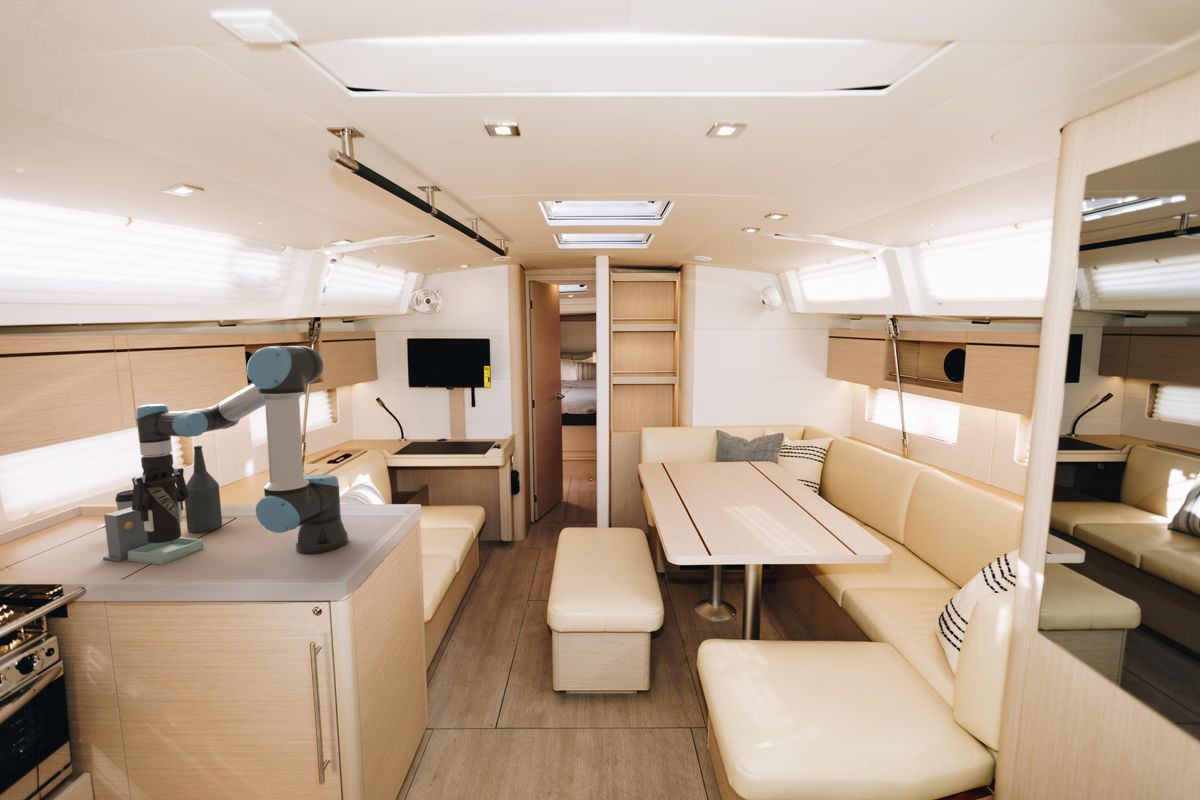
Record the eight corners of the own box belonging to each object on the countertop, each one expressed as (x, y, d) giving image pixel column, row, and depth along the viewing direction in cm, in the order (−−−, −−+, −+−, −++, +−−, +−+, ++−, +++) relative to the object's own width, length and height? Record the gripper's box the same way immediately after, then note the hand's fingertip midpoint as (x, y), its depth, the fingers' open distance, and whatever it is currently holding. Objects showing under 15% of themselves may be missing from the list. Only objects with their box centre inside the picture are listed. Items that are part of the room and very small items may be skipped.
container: (162, 545, 163) (156, 480, 161) (139, 543, 165) (132, 479, 163) (189, 535, 172) (184, 473, 169) (166, 533, 173) (160, 472, 171)
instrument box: (167, 544, 177) (163, 503, 175) (119, 561, 163) (114, 517, 162) (151, 542, 178) (147, 501, 177) (103, 559, 165) (98, 515, 163)
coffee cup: (154, 532, 188) (150, 490, 187) (124, 540, 181) (119, 496, 180) (145, 528, 193) (141, 487, 191) (115, 535, 186) (110, 493, 184)
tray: (203, 548, 173) (202, 539, 173) (161, 564, 161) (160, 555, 160) (172, 544, 177) (171, 536, 176) (128, 560, 164) (127, 551, 164)
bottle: (181, 531, 189) (172, 447, 186) (209, 522, 198) (202, 442, 195) (200, 535, 185) (192, 449, 182) (229, 525, 194) (221, 444, 191)
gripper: (181, 447, 176) (187, 514, 179) (109, 461, 156) (118, 536, 159) (199, 448, 174) (205, 516, 177) (128, 462, 154) (136, 539, 157)
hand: (163, 525), depth 168 cm, fingers closed on container, 8 cm apart
